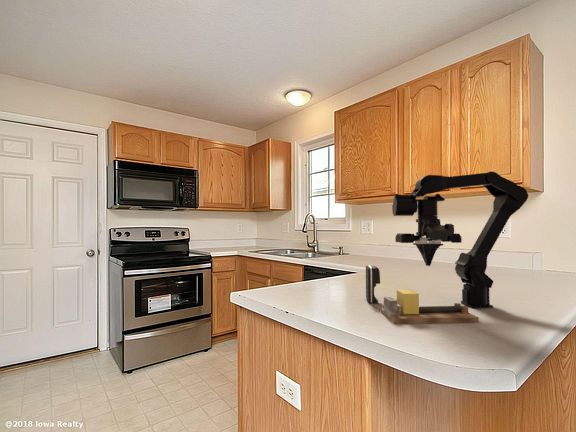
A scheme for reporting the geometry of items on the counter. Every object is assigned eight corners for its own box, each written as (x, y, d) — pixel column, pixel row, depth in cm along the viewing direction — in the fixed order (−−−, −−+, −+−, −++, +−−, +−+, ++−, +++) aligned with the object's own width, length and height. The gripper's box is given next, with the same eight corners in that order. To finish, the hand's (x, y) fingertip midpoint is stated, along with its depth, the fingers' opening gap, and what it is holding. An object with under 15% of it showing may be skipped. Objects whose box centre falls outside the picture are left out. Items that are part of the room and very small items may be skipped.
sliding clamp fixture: (456, 311, 91) (455, 293, 91) (478, 321, 81) (478, 302, 81) (380, 312, 90) (380, 294, 90) (394, 323, 80) (393, 303, 80)
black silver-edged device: (381, 304, 99) (380, 267, 100) (368, 303, 100) (368, 267, 100) (377, 298, 106) (376, 264, 106) (365, 298, 107) (365, 264, 107)
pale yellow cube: (411, 309, 88) (410, 289, 88) (419, 314, 83) (418, 293, 83) (396, 309, 87) (396, 290, 88) (404, 314, 83) (403, 293, 83)
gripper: (409, 215, 91) (410, 269, 91) (472, 215, 92) (473, 269, 91) (394, 216, 102) (395, 264, 102) (450, 216, 103) (451, 264, 102)
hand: (428, 265), depth 99 cm, fingers closed
